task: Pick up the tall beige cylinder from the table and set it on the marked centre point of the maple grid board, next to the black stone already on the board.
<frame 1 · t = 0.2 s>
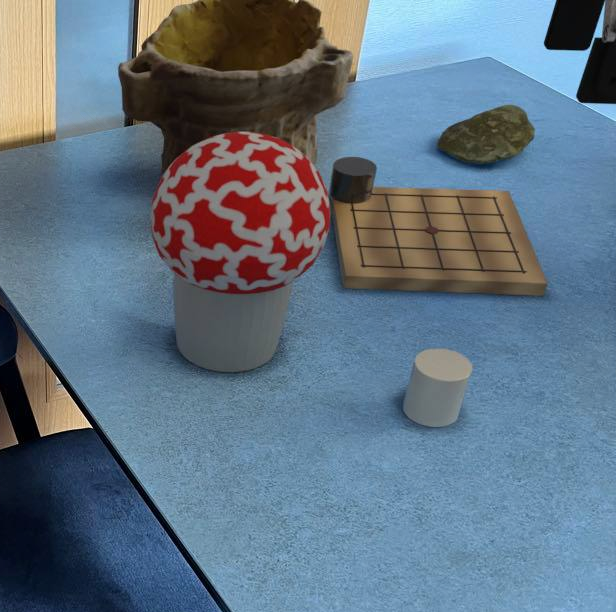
hand: (581, 74, 72), 28 cm above the table, tool pointing down, fingers open, 9 cm apart
board: (428, 243, 112), on the table
ceramic vessel: (216, 199, 121), on the table
decorative object: (226, 345, 99), on the table
green rock: (483, 151, 129), on the table
black stone: (350, 193, 117), point 2 cm above the table, touching board
beige cylinder: (430, 410, 92), on the table
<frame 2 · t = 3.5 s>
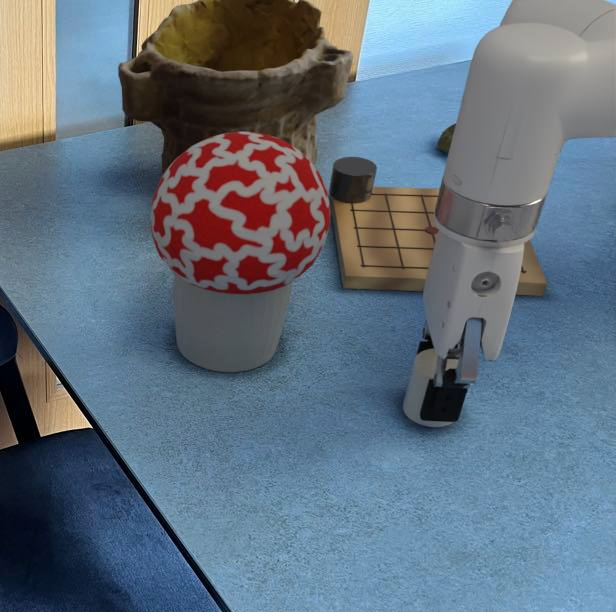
hand: (433, 398, 91), 1 cm above the table, tool pointing down, fingers closed on beige cylinder, 4 cm apart
beige cylinder: (430, 410, 92), on the table, touching gripper
everything else where it was.
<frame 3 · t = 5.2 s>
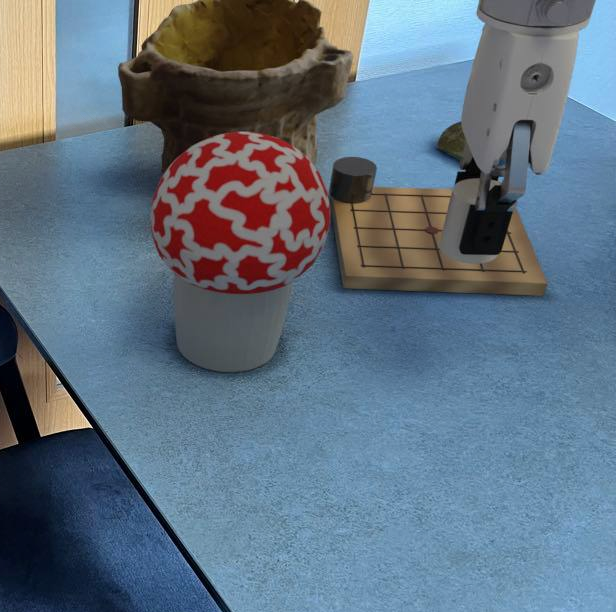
hand: (473, 233, 84), 15 cm above the table, tool pointing down, fingers closed on beige cylinder, 4 cm apart
beige cylinder: (468, 249, 85), point 13 cm above the table, touching gripper
everything else where it was.
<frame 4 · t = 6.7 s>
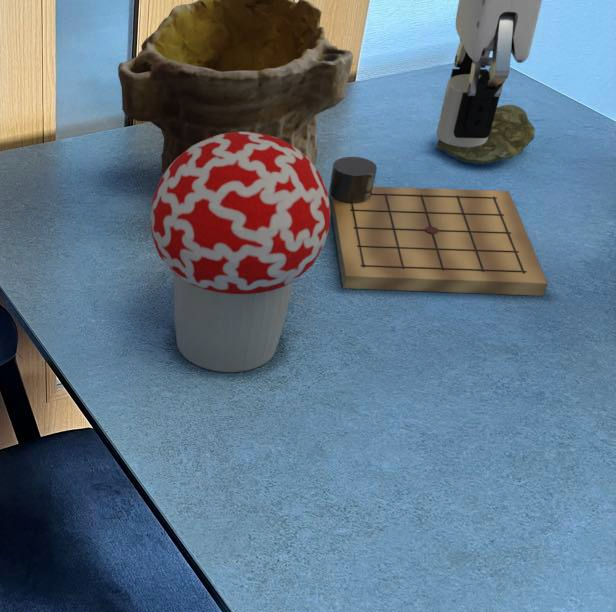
hand: (465, 122, 98), 15 cm above the table, tool pointing down, fingers closed on beige cylinder, 4 cm apart
beige cylinder: (461, 136, 99), point 14 cm above the table, touching gripper
everything else where it was.
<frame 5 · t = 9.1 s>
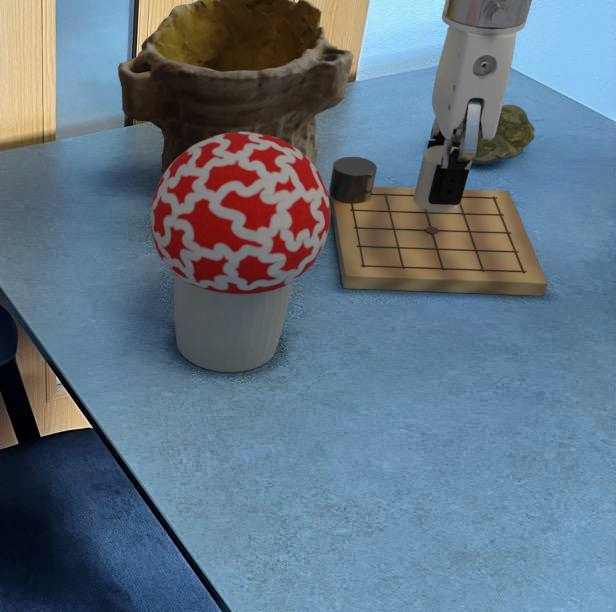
hand: (440, 188, 108), 6 cm above the table, tool pointing down, fingers closed on beige cylinder, 4 cm apart
beige cylinder: (436, 201, 109), point 5 cm above the table, touching gripper
everything else where it was.
when the fingers open (3 cm above the table, at t = 10.4 s): beige cylinder stays where it is, resting on board.
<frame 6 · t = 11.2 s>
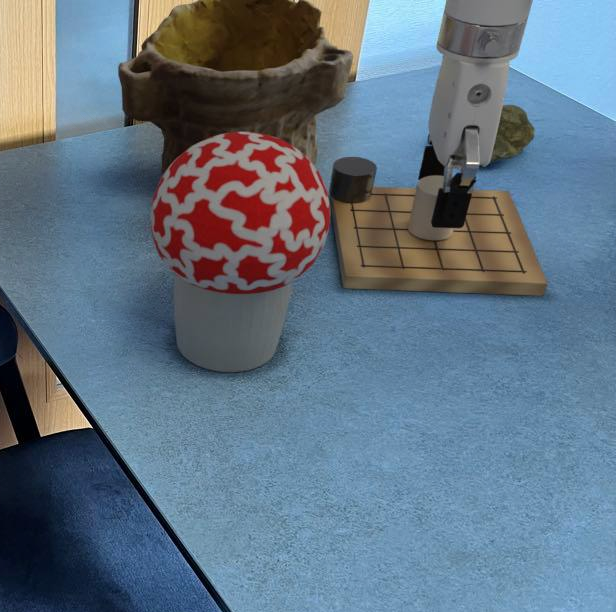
hand: (439, 204, 109), 5 cm above the table, tool pointing down, fingers open, 9 cm apart
beige cylinder: (430, 229, 111), point 2 cm above the table, touching board
everything else where it was.
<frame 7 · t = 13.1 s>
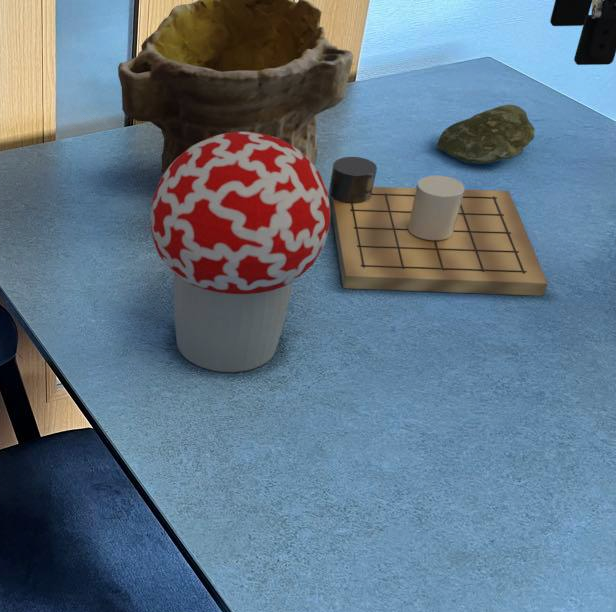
hand: (579, 43, 95), 22 cm above the table, tool pointing down, fingers open, 9 cm apart
nothing on the table moved.
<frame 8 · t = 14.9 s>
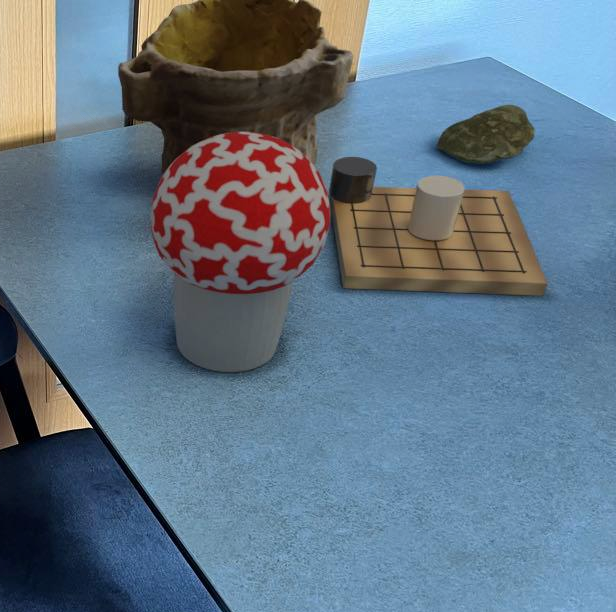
nothing on the table moved.
at the end: beige cylinder 0.2 cm off-centre on the board, point 1.6 cm above the board's base; beige cylinder tilted 0°; black stone moved 0.0 cm from its start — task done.
